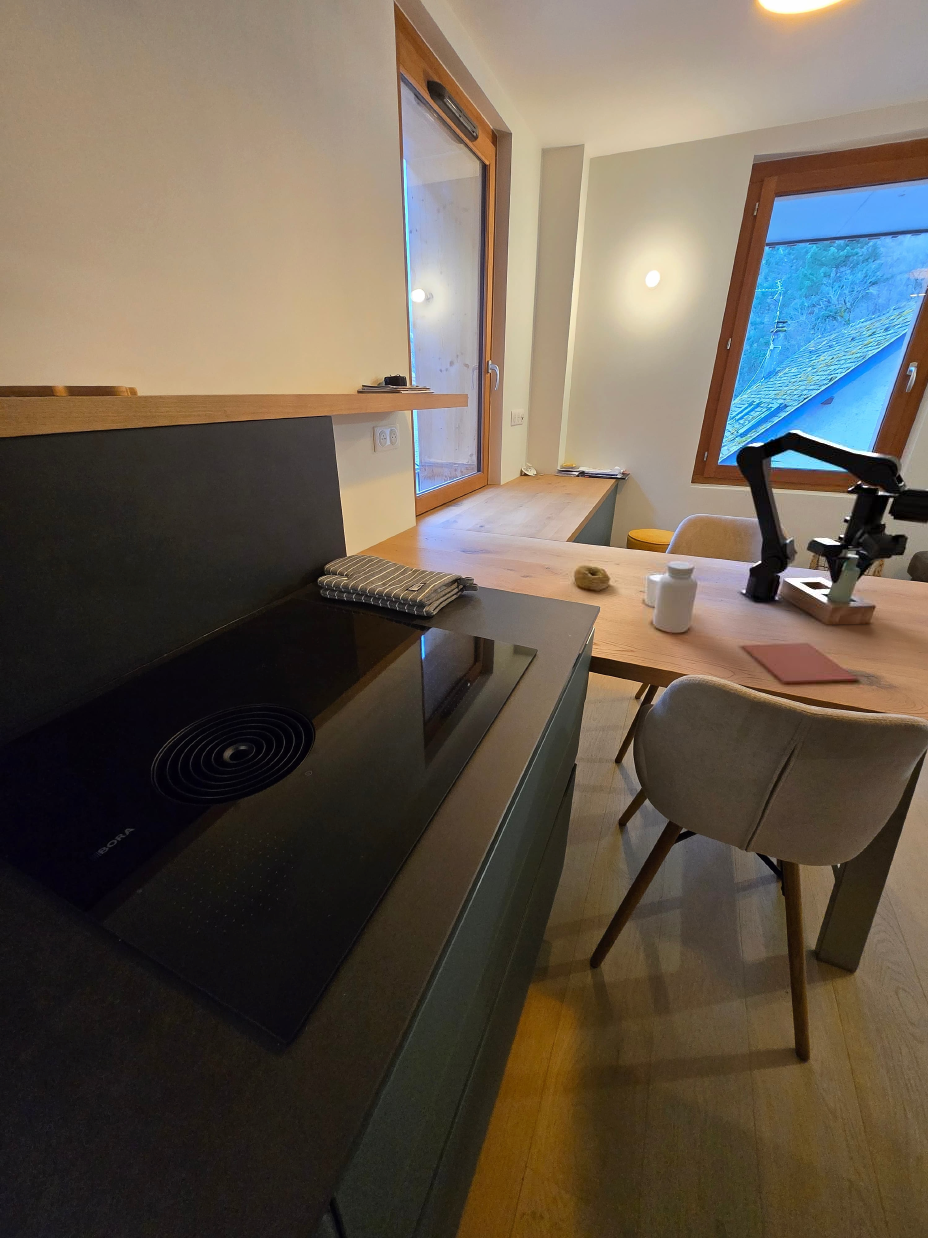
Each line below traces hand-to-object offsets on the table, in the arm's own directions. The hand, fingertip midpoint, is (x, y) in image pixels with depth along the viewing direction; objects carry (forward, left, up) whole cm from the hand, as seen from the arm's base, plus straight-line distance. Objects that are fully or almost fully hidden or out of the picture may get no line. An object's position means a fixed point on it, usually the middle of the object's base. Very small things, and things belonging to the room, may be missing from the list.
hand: (843, 582), depth 115 cm
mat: (-23, -21, -8) cm, 32 cm away
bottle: (0, 0, -6) cm, 6 cm away
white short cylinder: (-39, +10, -9) cm, 41 cm away
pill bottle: (-41, -3, -9) cm, 42 cm away
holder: (0, +4, -8) cm, 9 cm away
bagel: (-52, +24, -9) cm, 58 cm away
